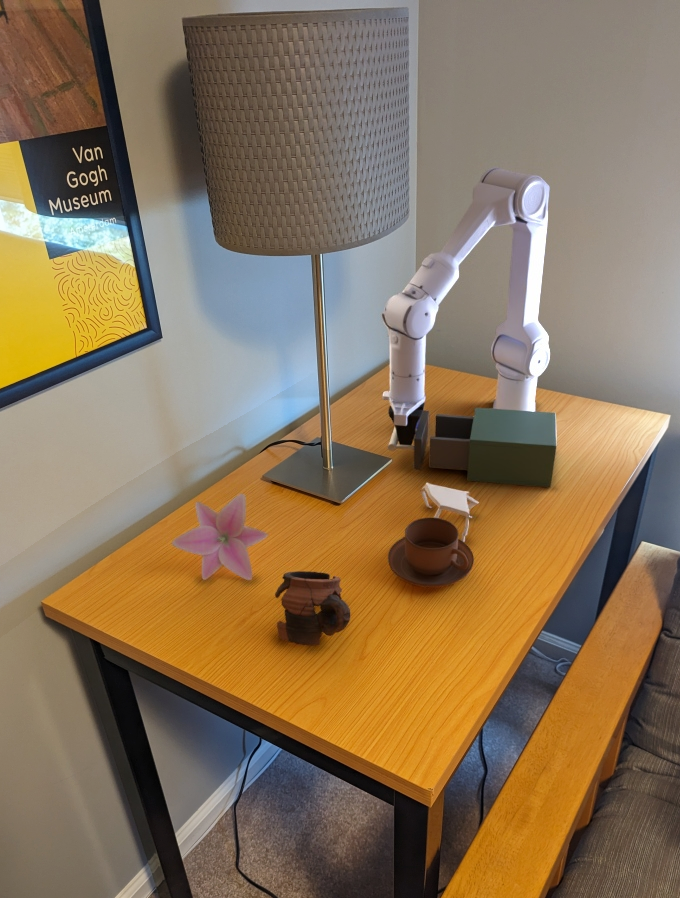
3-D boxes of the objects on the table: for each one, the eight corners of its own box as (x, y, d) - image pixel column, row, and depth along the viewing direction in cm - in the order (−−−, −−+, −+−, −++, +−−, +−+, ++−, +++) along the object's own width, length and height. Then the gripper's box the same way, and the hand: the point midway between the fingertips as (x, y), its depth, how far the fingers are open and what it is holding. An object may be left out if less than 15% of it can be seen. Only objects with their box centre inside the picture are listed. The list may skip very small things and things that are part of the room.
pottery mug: (257, 635, 95) (261, 571, 95) (309, 626, 103) (313, 567, 102) (324, 657, 88) (329, 588, 87) (375, 646, 95) (381, 582, 94)
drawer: (386, 467, 126) (385, 436, 122) (395, 438, 134) (395, 408, 131) (488, 476, 123) (491, 444, 119) (491, 445, 131) (494, 414, 128)
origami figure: (494, 522, 114) (496, 495, 111) (462, 547, 109) (464, 520, 106) (431, 495, 120) (432, 469, 117) (399, 518, 115) (399, 491, 112)
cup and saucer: (482, 552, 108) (485, 517, 104) (459, 604, 99) (461, 567, 95) (404, 535, 111) (405, 501, 108) (375, 583, 102) (374, 548, 99)
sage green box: (467, 480, 124) (469, 439, 119) (472, 446, 133) (475, 407, 128) (550, 487, 121) (556, 445, 117) (550, 452, 131) (555, 412, 126)
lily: (169, 571, 107) (160, 544, 99) (209, 506, 112) (204, 475, 104) (243, 606, 106) (240, 581, 98) (280, 539, 111) (281, 510, 103)
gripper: (390, 351, 127) (390, 423, 135) (374, 387, 115) (375, 463, 123) (431, 354, 126) (428, 425, 134) (420, 390, 114) (417, 466, 122)
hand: (406, 444), depth 128 cm, fingers closed, pressing on drawer
